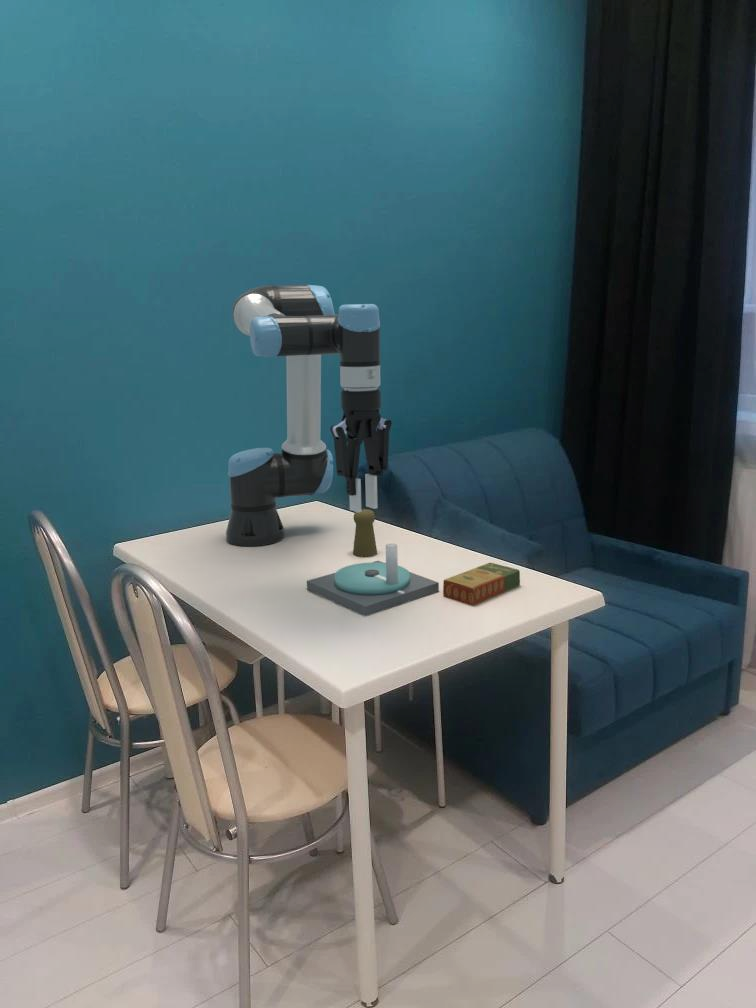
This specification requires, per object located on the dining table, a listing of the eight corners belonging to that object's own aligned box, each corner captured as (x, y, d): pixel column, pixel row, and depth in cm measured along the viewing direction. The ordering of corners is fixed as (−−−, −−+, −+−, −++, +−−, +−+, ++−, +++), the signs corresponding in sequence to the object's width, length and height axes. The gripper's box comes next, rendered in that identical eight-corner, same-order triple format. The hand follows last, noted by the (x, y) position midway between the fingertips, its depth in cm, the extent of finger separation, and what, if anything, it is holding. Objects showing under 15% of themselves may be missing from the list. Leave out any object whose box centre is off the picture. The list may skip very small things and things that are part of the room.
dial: (319, 580, 167) (318, 538, 165) (376, 564, 177) (376, 523, 175) (366, 600, 155) (365, 555, 153) (425, 581, 165) (425, 538, 163)
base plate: (307, 589, 168) (306, 579, 167) (378, 568, 180) (378, 559, 180) (365, 616, 153) (365, 605, 152) (438, 591, 165) (438, 581, 165)
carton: (442, 597, 163) (442, 578, 162) (489, 578, 174) (489, 560, 173) (473, 607, 157) (473, 587, 156) (520, 587, 168) (521, 568, 167)
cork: (378, 549, 194) (377, 507, 192) (376, 557, 188) (375, 513, 186) (354, 549, 195) (353, 507, 192) (351, 557, 189) (350, 513, 186)
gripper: (337, 393, 139) (341, 520, 145) (406, 386, 149) (407, 505, 155) (313, 390, 144) (318, 513, 150) (381, 383, 154) (383, 498, 160)
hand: (363, 508), depth 152 cm, fingers open, 3 cm apart
